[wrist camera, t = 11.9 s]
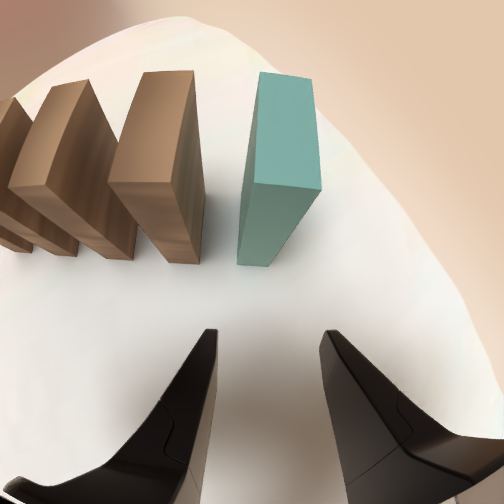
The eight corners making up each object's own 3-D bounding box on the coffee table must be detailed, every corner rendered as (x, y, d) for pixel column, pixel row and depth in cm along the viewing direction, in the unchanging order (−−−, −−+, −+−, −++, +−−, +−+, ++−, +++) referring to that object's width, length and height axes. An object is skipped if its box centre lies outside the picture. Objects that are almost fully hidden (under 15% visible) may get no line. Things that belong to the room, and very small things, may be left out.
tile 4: (205, 193, 20) (193, 70, 9) (199, 264, 19) (170, 182, 8) (177, 192, 20) (143, 72, 9) (168, 262, 18) (107, 182, 8)
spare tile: (269, 196, 20) (311, 79, 10) (267, 266, 19) (321, 189, 8) (241, 193, 20) (260, 71, 9) (236, 264, 19) (254, 182, 8)
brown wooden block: (143, 191, 19) (88, 79, 9) (132, 260, 18) (44, 184, 8) (118, 191, 19) (52, 86, 9) (106, 258, 18) (7, 187, 7)
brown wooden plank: (89, 191, 19) (14, 97, 8) (76, 256, 18) (-28, 191, 7) (68, 192, 19) (-10, 105, 8) (55, 255, 18) (-48, 194, 7)
